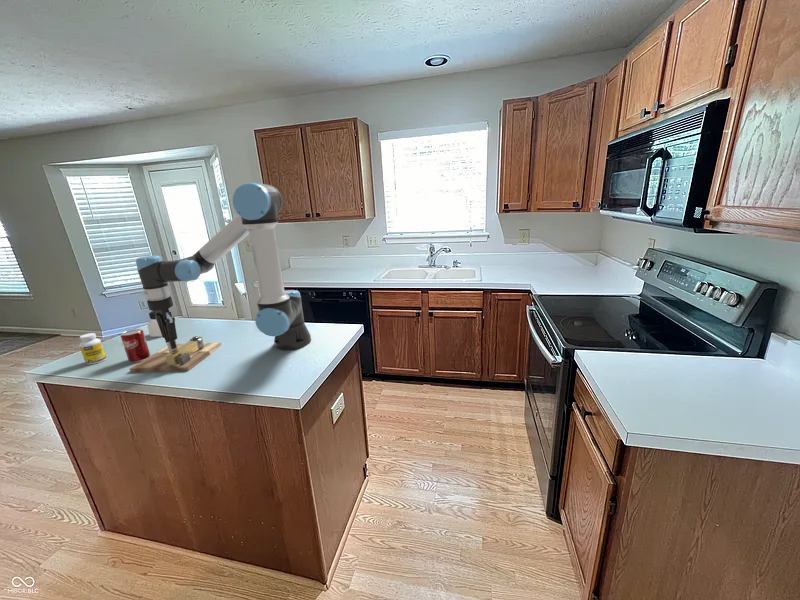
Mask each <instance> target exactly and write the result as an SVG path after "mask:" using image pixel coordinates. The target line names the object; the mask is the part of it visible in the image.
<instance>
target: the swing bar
mask: <svg viewBox="0 0 800 600" xmlns="http://www.w3.org/2000/svg"><path fill="white" fill-rule="evenodd" d="M204 343H205V342H204V339H203V336H193V337H191V338H189V340H188V341H186V342H184V343H182V344H183V345H182V346H180V347H178V348H177V349H175V350H174V351H172V352H170V353H169V354H167V355H165V356H166V360H167V363H168V365H176V364H178V363H179V359H178V357H180V356H181V355H183V354H184V353H189V355H191V354H193V353H194V352H196V351H197V350H199V349H201V348H203V347H204Z"/></svg>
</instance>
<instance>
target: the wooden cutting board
mask: <svg viewBox="0 0 800 600" xmlns="http://www.w3.org/2000/svg"><path fill="white" fill-rule="evenodd" d="M176 344H177V348H178V347H180V346H182V345H183V344H184V343H176ZM222 346H223V345H222V342H204V347H203V348H201V349H199V350H197V351H196V352H194V353H193V354H191V355H189V353H184V354H183V355H181V356H180V357H178V359H179V363H178V364H176V365H168V363H167V360H166V356H165V355H167V354H169V350H168V346H167V345H166V346H165V347H163V348H162V349H160V350H158V351H157V352H156V353H154V354H150V357H148V358H146V359H145V360H143V361H141V362H137V364H135V365H133V366H131V367H130V368H129V371H130V373H146V372H147V373H151V372H154V373H155V372H189V371H191V370H192V369H194V367H196V366H197V365H199V363H201V362H202V361H204V360H205V359H206V358H207V357H209V356H210V355H212V354H213V353H215V351H216V350H218V349H220V348H221V347H222ZM216 352H217V351H216Z"/></svg>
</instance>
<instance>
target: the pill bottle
mask: <svg viewBox="0 0 800 600" xmlns="http://www.w3.org/2000/svg"><path fill="white" fill-rule="evenodd" d="M79 339H80V341H81V342H80V343H79V348H80V351H81V353H82V356H83V359H84V362H85V364H86V365H95V364H99V363H103V362H104V361H106V359H107V356H106V353H105V349H104V347H103V343H102V341H101V339H100V338H97V334H96V333H95V332H91V333H84V334H82V335H80V336H79Z"/></svg>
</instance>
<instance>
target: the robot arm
mask: <svg viewBox="0 0 800 600" xmlns="http://www.w3.org/2000/svg"><path fill="white" fill-rule="evenodd" d="M232 195H233V196H232V207H233V209H234V211H235V212H236V213H237V215H236V216H235V217H234V218H233V219H231V220H230V221H229V222H228V223H227V224H225V225H224V226H223V228H222V229H220V230H219V231H218V232H217V233H216V234H215V235H214V236H213V237H212V238H210V239H209V240H208V241H207V242H206V243H205V244H204V245H203V246H201V248H200V249H198V250H197V251H196V252H195V253H194V254H192V255H191V256H188V257H185V258H180V259H176V260H162V257H161V256H160V255H154V254H153V255H146V256H140V257H137V258H136V260H135V265H136V268H137V273H138V277H139V279H140V281H141V285H142V288H143V292H142V294H143V295H144V296H145V298H146V303H147V306H148V310H149V311H150V312H151V311H156V314H154V316H155V318H156V320H157V323H158V326H159V328H160V331H161V334H162V337H161V338H163V339H164V340H165V343H166V347H167V346H168V350H169V353H170V352H172V351H174V350H175V349H177V344H178V343H177V341H176V340H178V334H177V328H176V319H175V317H173V316H172V313H171V311H170V310H169V309H170V308H172V307H173V306H174V302H173V299H172V296H171V290H170V287H169V284H168V283H172V282H189V281H196V280H198V279H199V277H200V276H201V275H202V274H207V273H208V272H209V271H211V270H213V269H214V267H215V264H217V263H218V262H219V260H221V259H222V258H224V257H225V256H226V254H227V253H229V252H230V251H231V250H233V249H234V247H236V246H237V245H238V244H240V242H242V241H243V240H244V239H245V238H246V237H247V236H248V235H249V241H250V246H251V251H252V257H253V262H254V269H255V274H256V280H257V284H258V290H259V292H258V293H259V297H258V299H256V305H257V309H258V310H257V311H258V312H257V314H256V316H255V318H254V319H255V321H254V322H255V326H256V327H257V329H258V330H259V331H260V333H262V334H264V335H265V336H267V337H268V336H269V337H273V338H274V340H273V344H274V347H275V349H277V350H282V351H283V350H284V351H287V350H289V351H290V350H295V349H300V348H302V347H305V346H306V345H308V344H309V343H310V342H311V341H312V336H311V333H310V331H309V329H308V328H307V325H306V324H305V318H304V311H303V304H302V296H301V293H300V291H298V290H297V289H296V290H294V289H293V290H292V289H290V290H289V289H288V290H287V289H285V286H284V280H283V274H282V268H281V261H280V253H279V249H278V242H277V235H276V229H275V228H276V226H277V225H278V224H279V219H278V214H279V213H280V212H281V210H282V208H283V204H284V202H283V196H282V194H281V192H280V191H279V190H278V189H277V188H276V187H274V186H273V185H271V184H268V183H260V182H246V183H243V184H241V185H240V186H238V187H237V188H236V189H235V190H234V192H233V194H232Z"/></svg>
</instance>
